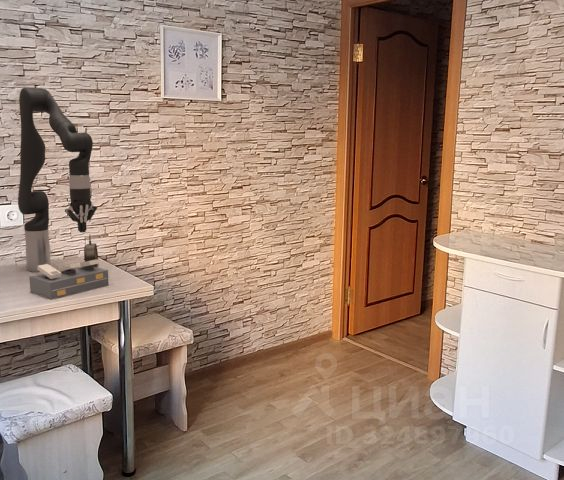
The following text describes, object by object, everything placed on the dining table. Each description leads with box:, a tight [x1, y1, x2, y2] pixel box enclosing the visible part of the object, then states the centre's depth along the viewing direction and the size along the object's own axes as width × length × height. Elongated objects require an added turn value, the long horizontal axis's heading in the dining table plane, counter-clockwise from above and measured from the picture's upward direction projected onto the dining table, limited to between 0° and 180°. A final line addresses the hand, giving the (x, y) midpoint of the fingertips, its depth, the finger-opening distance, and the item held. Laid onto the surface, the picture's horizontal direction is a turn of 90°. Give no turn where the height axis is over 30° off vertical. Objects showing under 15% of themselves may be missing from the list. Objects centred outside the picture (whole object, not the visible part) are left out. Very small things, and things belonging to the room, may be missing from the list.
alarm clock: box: [83, 233, 100, 268], centre depth 243 cm, size 11×5×16 cm, turn 13°
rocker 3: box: [77, 258, 100, 268], centre depth 224 cm, size 9×4×2 cm, turn 52°
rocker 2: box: [57, 261, 81, 272], centre depth 218 cm, size 9×4×2 cm, turn 52°
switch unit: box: [28, 265, 110, 300], centre depth 219 cm, size 14×24×7 cm, turn 142°
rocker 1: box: [37, 264, 61, 279], centre depth 212 cm, size 9×4×2 cm, turn 52°
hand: (82, 232), depth 222 cm, fingers closed
